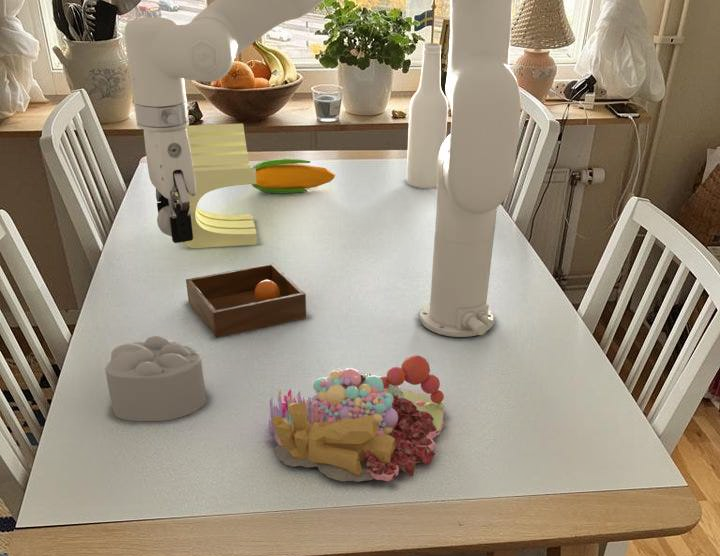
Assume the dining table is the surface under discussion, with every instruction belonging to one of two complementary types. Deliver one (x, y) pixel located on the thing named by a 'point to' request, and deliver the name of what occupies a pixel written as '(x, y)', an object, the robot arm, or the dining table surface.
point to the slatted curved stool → (219, 184)
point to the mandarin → (266, 291)
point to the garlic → (165, 220)
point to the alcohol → (426, 122)
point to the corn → (289, 176)
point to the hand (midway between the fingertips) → (176, 232)
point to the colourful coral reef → (361, 423)
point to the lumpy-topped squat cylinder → (155, 380)
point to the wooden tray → (244, 300)
